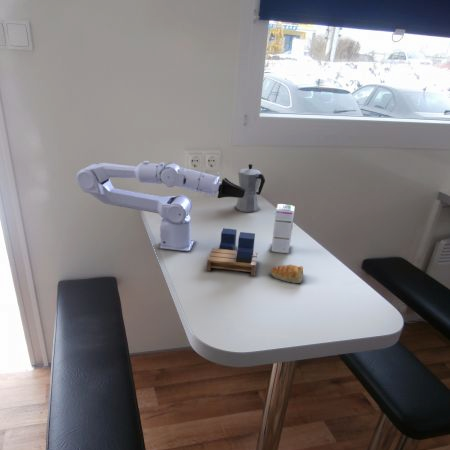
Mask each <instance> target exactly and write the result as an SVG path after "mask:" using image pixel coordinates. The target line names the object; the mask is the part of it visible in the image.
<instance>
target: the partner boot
mask: <svg viewBox="0 0 450 450" xmlns="http://www.w3.org/2000/svg"><path fill="white" fill-rule="evenodd" d="M255 238H256V233H255V232H254V233H253V232H245V231H240V232H239V235H238V240H237V250H236V251H237V257H236V262H243V263H251V262H252V257H253V253H254V250H255V249H254V248H255Z"/></svg>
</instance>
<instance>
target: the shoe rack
mask: <svg viewBox="0 0 450 450" xmlns="http://www.w3.org/2000/svg"><path fill="white" fill-rule="evenodd" d="M236 257H237V250H235V251H234V250H225V249H220V248H215V247H212V248H211V251H210V253H209V255H208V257H207V260H206V272H211V271H212V268H213V269H219V270H220V269H222V270H230V271H239V272H247V273H248V272H249V273H250V277H255V274H256V270H257V269H256V268H257V262H258V252H253V257H252V262H251V263H243V262H236Z"/></svg>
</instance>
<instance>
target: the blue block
mask: <svg viewBox="0 0 450 450" xmlns="http://www.w3.org/2000/svg"><path fill="white" fill-rule="evenodd" d="M237 232H238V231H237V229H234V228H225V227H223V228H222V230H221V232H220V243H219V249H225V250H234V251H236V244H237Z"/></svg>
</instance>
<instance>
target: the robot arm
mask: <svg viewBox="0 0 450 450" xmlns="http://www.w3.org/2000/svg"><path fill="white" fill-rule="evenodd" d="M220 175H221V172H219V171H218V172H216V175H214V174H210V173H206V172H203V171H198V170H194V169H190V168H185V167H182V166H180V165H179V164H178V163H176V162H172V161H170V162H168V163H166V164H165V162H163V161H162V162H160V163H154V162H152V163H151V162H150V161H149V160H144V161H143V162H140V163H138V165H137V166H136V165H135V166H134V165H127V164H117V163H109V162H100V163H99V162H92V163H91V164H90V165H88V166H87V167H84V168H81V169H80V170H78V172H77V173H76V176H75V178H76V179H75V180H76V183H77V185H78V186H79V188H80V189H81V191H82V192H83V193H86V194H89V195H91V196H92V197H94V198H95V199H97V200H98V201H99V202H101V203H102V204H105V205H110V206H116V207H121V208H126V209H133V210H137V211H143V212H148V213H154V214H158V215H159V216H160V217H161V218H162V219H161V221H160V227H159V232H160V233H159V234H160V235H159V237H160V246H159V248H160V249H163V250H172V251H180V252H181V251H182V252H190V250H191V248H192V246H193V244H194V242H195V241H194V240H192V239H191V238H192V237H191V233H192V230H191V225H192V222H191V221H192V218H191V216H190V212H191V210H192V208H193V204H192V200H191V199H190V198H189V196H186V195H183V194H179V195H176V196H175V195H167V196H160V195H153V194H149V193H148V194H147V193H143V192H138V191H137V192H136V191H132V190H126V189H120V188H115V187H114V185H113V184H112V181H111V179H110V178H121V179H122V178H125V179H126V178H127V179H128V178H129V179H137V180H138V182H139V183H146V184H157V185H158V184H160V185H162V184H164V185H165V186H166V187H167V188H173V187H179V188H183V189H186V190H190V191H195V192H198V193H202V194H206V195H210V196H212V197H214V198H215V197H216V195H217V197H216V198H218V199H223V198H235V199H238V198H243V196H244V194H245V190H246V189H244V188H242V187H240V186H239V184H238V185H237V184H235V183H233V182H232V181H230V179H228V178H227V177H223V178H222V179H221V176H220ZM220 180H221V181H220Z"/></svg>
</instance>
